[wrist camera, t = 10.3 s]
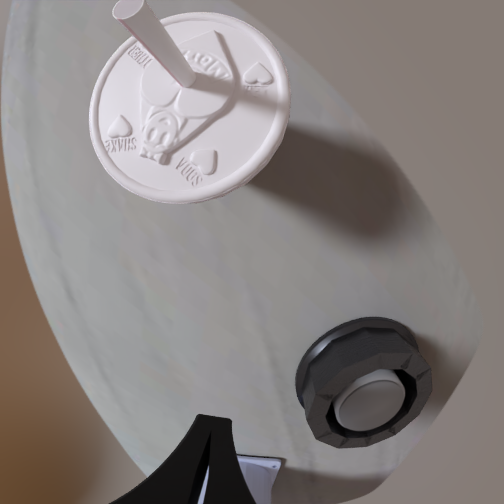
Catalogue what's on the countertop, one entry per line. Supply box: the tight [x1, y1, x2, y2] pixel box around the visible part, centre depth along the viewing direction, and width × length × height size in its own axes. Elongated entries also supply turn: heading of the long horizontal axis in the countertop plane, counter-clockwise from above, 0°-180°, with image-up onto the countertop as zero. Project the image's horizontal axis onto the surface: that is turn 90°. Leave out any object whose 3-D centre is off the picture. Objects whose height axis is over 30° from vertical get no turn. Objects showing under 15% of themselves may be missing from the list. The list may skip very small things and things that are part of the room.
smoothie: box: [89, 0, 291, 203], centre depth 10 cm, size 6×6×14 cm
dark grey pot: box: [295, 317, 432, 448], centre depth 18 cm, size 10×10×4 cm
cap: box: [332, 369, 405, 431], centre depth 18 cm, size 5×5×4 cm
